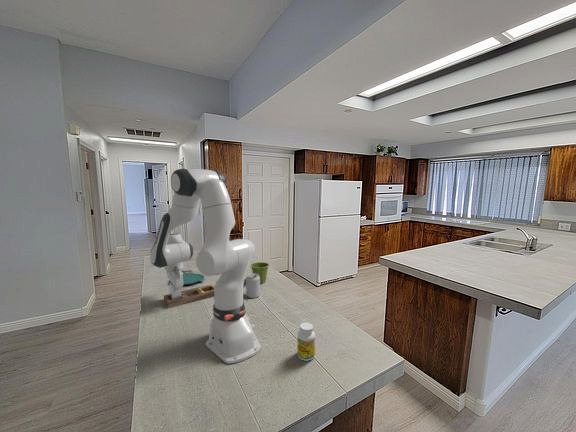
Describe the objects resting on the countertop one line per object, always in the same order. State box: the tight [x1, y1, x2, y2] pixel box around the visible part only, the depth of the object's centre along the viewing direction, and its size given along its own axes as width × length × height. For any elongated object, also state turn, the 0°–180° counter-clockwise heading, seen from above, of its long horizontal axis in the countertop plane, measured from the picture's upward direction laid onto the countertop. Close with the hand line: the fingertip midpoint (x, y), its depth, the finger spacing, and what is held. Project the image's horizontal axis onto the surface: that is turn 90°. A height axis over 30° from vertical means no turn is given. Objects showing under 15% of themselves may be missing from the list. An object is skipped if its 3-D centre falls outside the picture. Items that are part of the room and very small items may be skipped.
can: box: [245, 272, 261, 299], centre depth 135 cm, size 8×8×12 cm
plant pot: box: [249, 261, 270, 284], centre depth 155 cm, size 12×12×11 cm
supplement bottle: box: [296, 322, 316, 362], centre depth 87 cm, size 6×6×11 cm
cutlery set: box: [181, 269, 205, 286], centre depth 160 cm, size 20×30×2 cm, turn 35°
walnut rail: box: [163, 283, 215, 309], centre depth 133 cm, size 11×26×3 cm, turn 127°
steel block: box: [168, 281, 182, 301], centre depth 127 cm, size 5×5×8 cm
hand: (175, 290), depth 127 cm, fingers closed on steel block, 5 cm apart
